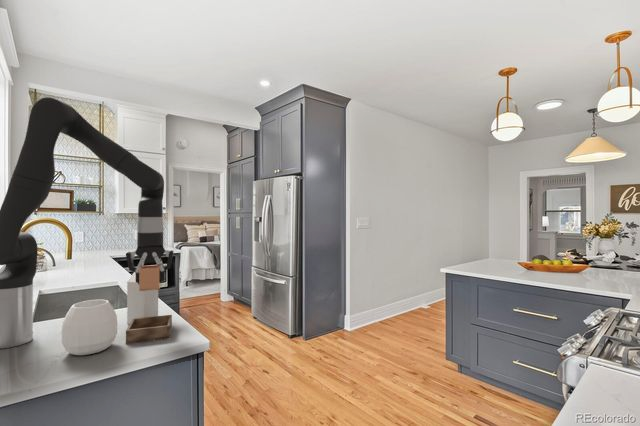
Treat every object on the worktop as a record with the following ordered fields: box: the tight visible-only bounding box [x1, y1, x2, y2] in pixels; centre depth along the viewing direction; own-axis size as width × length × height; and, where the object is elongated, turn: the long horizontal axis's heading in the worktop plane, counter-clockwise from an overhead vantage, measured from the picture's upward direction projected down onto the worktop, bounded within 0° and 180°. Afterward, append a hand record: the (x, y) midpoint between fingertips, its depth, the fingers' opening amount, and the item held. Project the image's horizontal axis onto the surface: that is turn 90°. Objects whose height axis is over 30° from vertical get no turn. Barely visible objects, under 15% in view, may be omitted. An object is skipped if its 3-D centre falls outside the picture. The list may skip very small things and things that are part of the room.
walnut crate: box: [125, 314, 173, 345], centre depth 106 cm, size 12×12×4 cm
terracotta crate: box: [139, 264, 162, 291], centre depth 106 cm, size 6×6×7 cm
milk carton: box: [126, 271, 159, 325], centre depth 119 cm, size 7×7×19 cm
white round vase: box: [61, 299, 118, 356], centre depth 94 cm, size 13×13×14 cm
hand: (150, 282), depth 106 cm, fingers closed on terracotta crate, 5 cm apart
